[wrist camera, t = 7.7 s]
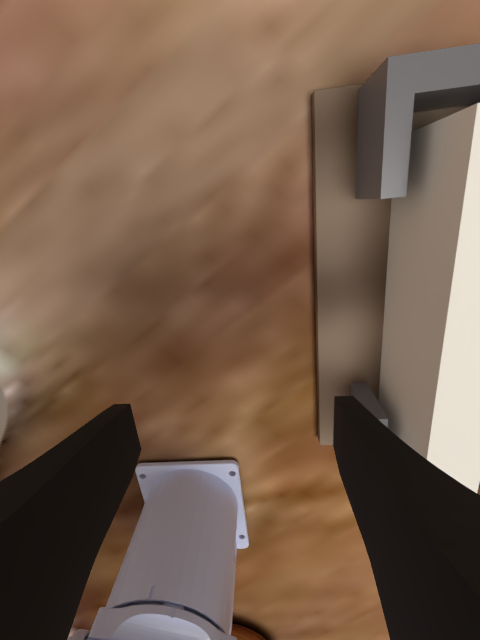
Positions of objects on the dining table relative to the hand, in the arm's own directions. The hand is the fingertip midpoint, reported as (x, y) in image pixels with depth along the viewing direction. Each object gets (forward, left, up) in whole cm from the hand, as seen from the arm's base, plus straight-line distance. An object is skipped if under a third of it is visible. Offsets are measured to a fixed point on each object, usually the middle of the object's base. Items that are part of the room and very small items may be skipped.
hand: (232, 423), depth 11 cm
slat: (+1, -10, -9) cm, 13 cm away
